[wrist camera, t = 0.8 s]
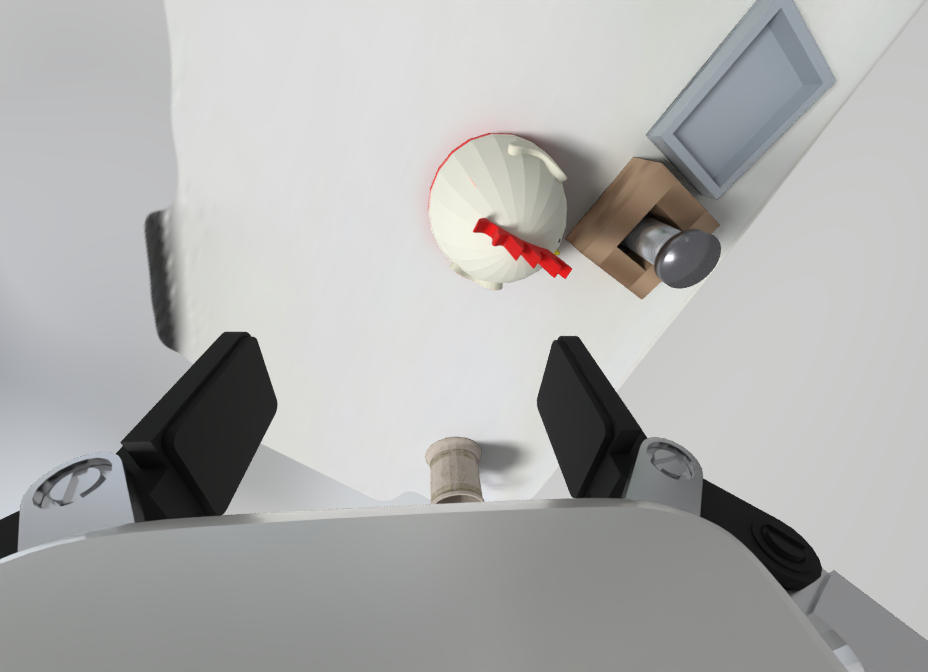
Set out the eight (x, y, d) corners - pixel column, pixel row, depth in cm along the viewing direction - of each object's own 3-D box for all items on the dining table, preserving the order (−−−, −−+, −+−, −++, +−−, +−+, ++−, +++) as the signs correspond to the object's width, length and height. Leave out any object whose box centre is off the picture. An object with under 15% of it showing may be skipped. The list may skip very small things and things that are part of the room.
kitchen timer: (514, 286, 41) (552, 361, 28) (409, 240, 36) (399, 305, 24) (582, 174, 34) (670, 208, 22) (464, 102, 30) (491, 94, 18)
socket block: (633, 157, 34) (661, 163, 30) (687, 212, 37) (720, 225, 33) (565, 238, 38) (582, 253, 34) (620, 281, 42) (642, 299, 38)
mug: (421, 440, 55) (420, 512, 45) (479, 433, 56) (490, 503, 46) (432, 488, 63) (433, 558, 54) (483, 482, 64) (493, 550, 54)
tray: (759, -3, 28) (786, -13, 26) (809, 82, 31) (836, 80, 29) (645, 135, 33) (660, 136, 31) (700, 194, 36) (717, 199, 34)
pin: (629, 193, 36) (700, 221, 26) (656, 219, 38) (731, 253, 28) (595, 232, 38) (650, 270, 29) (623, 254, 40) (682, 297, 30)
